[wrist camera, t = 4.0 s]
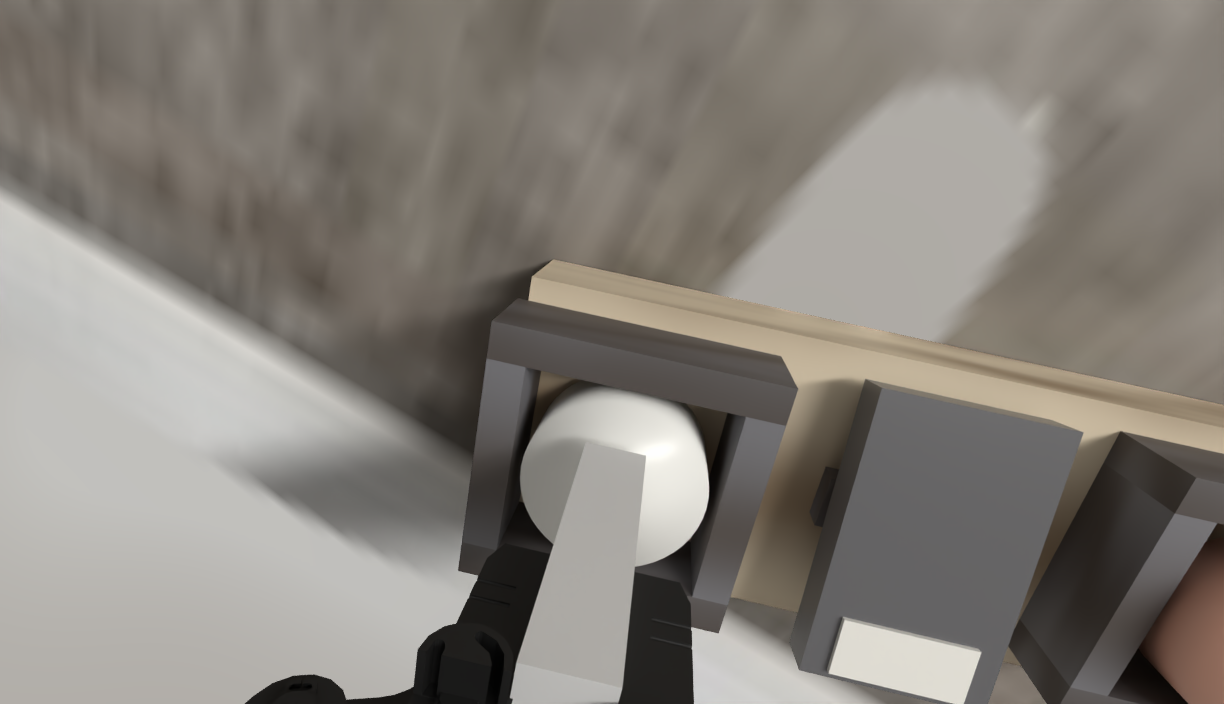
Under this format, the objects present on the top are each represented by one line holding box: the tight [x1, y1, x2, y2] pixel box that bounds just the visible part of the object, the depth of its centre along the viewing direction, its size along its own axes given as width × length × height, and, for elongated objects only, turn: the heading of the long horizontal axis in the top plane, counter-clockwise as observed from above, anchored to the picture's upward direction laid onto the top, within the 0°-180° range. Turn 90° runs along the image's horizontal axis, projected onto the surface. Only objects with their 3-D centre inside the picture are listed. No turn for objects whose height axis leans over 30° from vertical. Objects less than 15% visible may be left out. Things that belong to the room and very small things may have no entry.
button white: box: [520, 380, 709, 567], centre depth 16 cm, size 5×5×2 cm
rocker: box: [789, 379, 1084, 704], centre depth 16 cm, size 8×5×1 cm, turn 169°
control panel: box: [458, 259, 1224, 704], centre depth 18 cm, size 9×25×6 cm, turn 79°
